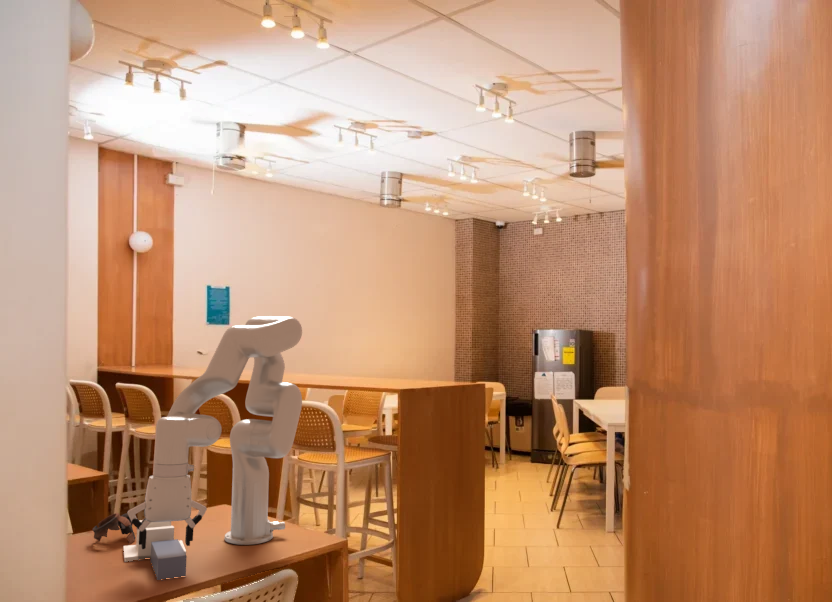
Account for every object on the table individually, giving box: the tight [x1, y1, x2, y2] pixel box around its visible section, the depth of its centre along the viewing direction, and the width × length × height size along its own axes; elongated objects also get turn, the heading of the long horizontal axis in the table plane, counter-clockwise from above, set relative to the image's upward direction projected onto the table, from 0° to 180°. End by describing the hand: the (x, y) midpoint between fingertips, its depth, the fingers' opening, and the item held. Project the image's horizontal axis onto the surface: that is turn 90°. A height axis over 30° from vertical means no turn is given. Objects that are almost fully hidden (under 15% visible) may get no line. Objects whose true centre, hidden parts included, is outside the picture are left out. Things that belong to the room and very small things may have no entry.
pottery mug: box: [92, 512, 137, 544], centre depth 183 cm, size 12×10×8 cm
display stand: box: [123, 519, 187, 563], centre depth 173 cm, size 14×10×7 cm
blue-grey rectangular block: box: [150, 538, 188, 581], centre depth 161 cm, size 6×14×5 cm, turn 27°
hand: (165, 546), depth 161 cm, fingers open, 9 cm apart
